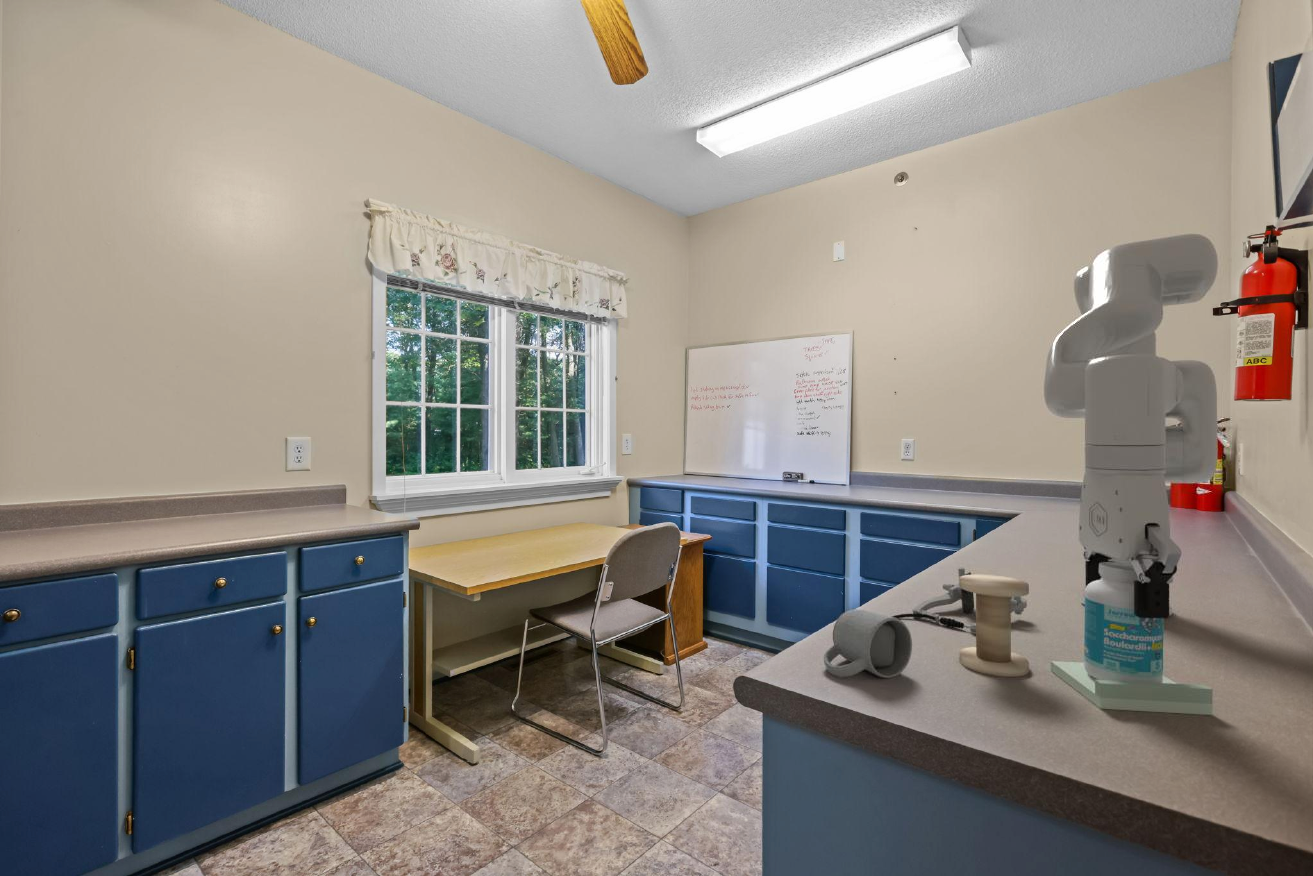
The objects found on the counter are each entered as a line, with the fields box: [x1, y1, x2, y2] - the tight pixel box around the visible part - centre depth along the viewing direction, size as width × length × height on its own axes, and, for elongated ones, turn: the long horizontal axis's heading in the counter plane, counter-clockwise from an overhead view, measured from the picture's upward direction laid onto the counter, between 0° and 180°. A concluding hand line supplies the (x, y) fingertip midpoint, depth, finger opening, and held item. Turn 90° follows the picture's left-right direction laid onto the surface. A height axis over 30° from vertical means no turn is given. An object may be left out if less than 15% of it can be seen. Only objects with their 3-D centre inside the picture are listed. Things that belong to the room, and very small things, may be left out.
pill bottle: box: [1083, 562, 1165, 683], centre depth 72 cm, size 8×7×14 cm
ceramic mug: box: [823, 609, 913, 679], centre depth 78 cm, size 10×8×7 cm
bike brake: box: [891, 566, 1028, 635], centre depth 99 cm, size 14×7×20 cm
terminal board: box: [1050, 660, 1214, 716], centre depth 71 cm, size 11×11×3 cm
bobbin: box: [958, 573, 1030, 678], centre depth 79 cm, size 8×8×11 cm
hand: (1124, 604), depth 72 cm, fingers open, 9 cm apart
